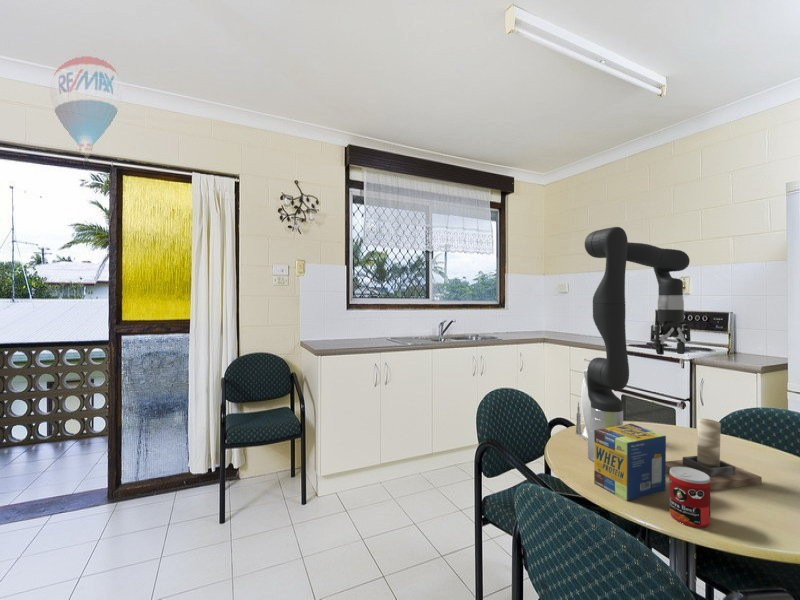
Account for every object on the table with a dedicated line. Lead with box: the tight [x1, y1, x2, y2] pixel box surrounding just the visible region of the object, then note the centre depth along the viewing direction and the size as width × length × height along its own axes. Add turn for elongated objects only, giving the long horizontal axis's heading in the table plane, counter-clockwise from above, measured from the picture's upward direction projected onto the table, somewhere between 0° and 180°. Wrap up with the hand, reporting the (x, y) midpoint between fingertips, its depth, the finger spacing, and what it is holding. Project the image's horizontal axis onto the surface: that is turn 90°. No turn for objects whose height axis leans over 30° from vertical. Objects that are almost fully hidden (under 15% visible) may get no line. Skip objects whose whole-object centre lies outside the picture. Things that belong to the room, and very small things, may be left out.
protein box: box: [593, 423, 667, 502], centre depth 106 cm, size 10×15×16 cm
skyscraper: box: [575, 367, 591, 441], centre depth 144 cm, size 8×8×28 cm
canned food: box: [668, 467, 712, 529], centre depth 90 cm, size 8×8×11 cm
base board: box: [666, 455, 763, 491], centre depth 112 cm, size 20×14×4 cm
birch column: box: [696, 418, 722, 468], centre depth 112 cm, size 5×5×14 cm
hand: (670, 354), depth 133 cm, fingers open, 8 cm apart
